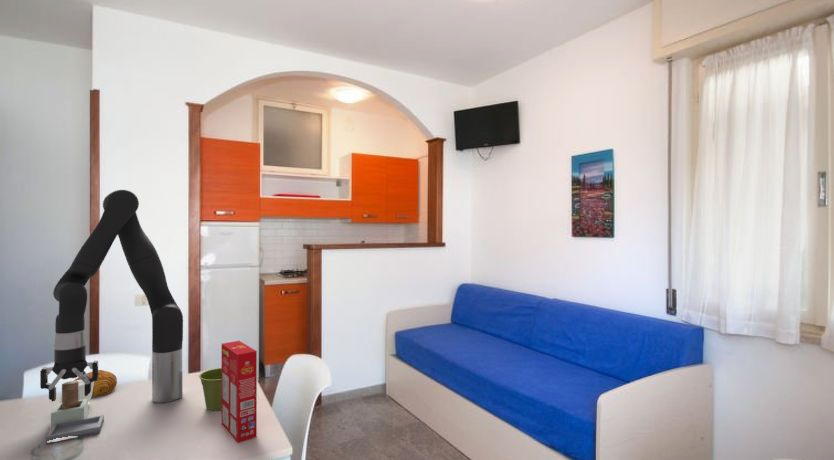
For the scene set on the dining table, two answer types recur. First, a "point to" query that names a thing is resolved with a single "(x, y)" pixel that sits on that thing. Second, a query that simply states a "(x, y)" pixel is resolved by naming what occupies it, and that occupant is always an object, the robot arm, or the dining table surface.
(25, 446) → the dining table surface
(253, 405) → the food packaging
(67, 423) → the tray
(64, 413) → the pot
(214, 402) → the plant pot
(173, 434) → the dining table surface
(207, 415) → the dining table surface
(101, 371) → the croissant
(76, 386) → the wooden dowel
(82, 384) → the cup
